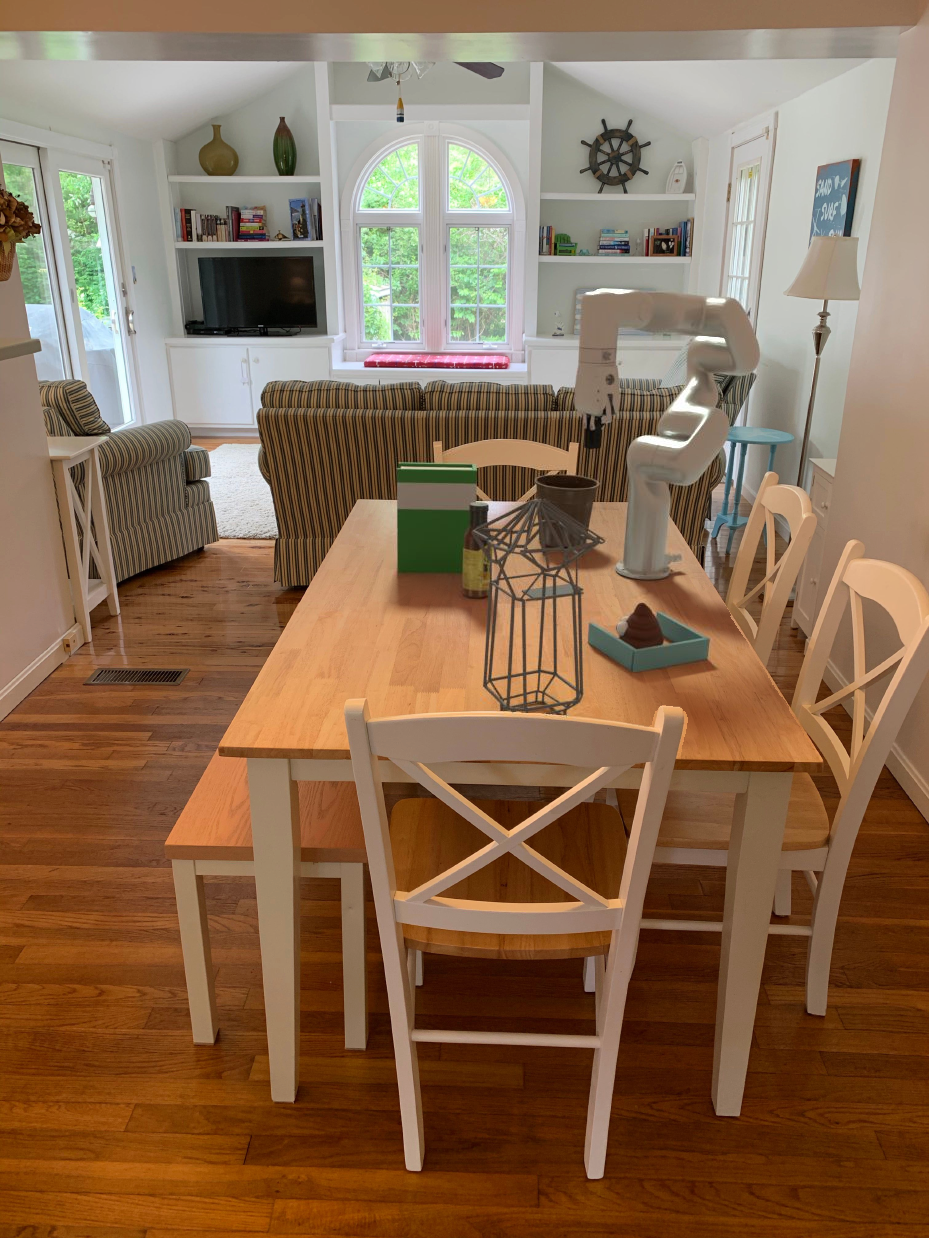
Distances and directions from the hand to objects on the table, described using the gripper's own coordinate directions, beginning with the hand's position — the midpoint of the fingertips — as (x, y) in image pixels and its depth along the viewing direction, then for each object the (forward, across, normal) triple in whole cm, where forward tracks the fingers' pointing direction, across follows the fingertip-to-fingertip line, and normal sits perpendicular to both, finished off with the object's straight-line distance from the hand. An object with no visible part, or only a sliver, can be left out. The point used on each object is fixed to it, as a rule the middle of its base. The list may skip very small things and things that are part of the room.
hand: (592, 447), depth 194 cm
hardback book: (+31, +27, +24) cm, 48 cm away
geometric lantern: (+30, -47, +42) cm, 70 cm away
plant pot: (+32, +34, -16) cm, 49 cm away
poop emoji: (+31, -32, +9) cm, 46 cm away
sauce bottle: (+31, +7, +23) cm, 39 cm away
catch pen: (+31, -34, +9) cm, 47 cm away
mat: (+31, +1, +8) cm, 32 cm away
